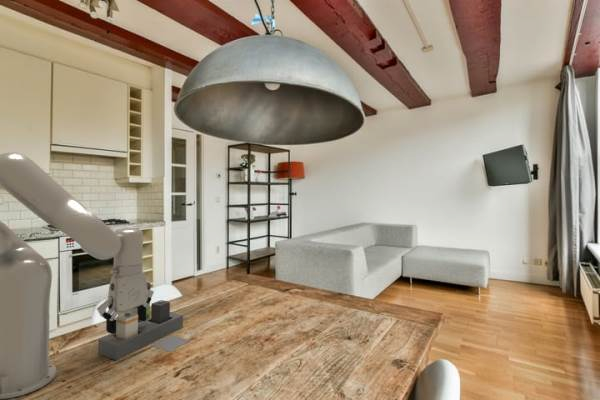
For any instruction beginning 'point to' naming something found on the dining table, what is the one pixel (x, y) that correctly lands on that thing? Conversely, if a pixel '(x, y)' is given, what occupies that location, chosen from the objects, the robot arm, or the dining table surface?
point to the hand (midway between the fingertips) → (127, 326)
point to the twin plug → (160, 311)
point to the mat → (171, 343)
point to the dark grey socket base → (138, 337)
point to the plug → (127, 325)
